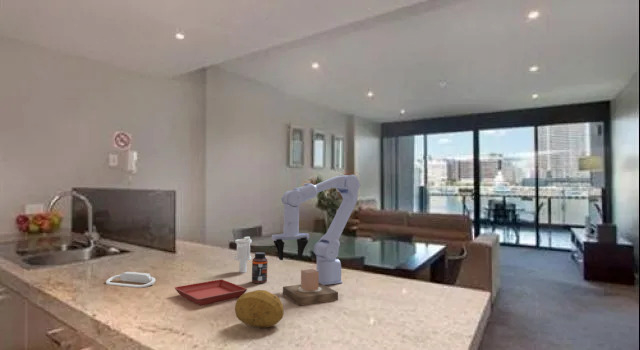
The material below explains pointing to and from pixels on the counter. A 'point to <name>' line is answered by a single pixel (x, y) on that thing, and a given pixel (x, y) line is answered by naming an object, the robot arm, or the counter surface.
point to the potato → (259, 309)
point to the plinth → (310, 294)
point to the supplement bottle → (259, 268)
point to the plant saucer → (210, 292)
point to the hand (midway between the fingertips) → (290, 259)
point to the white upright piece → (243, 253)
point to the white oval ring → (133, 279)
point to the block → (309, 279)
